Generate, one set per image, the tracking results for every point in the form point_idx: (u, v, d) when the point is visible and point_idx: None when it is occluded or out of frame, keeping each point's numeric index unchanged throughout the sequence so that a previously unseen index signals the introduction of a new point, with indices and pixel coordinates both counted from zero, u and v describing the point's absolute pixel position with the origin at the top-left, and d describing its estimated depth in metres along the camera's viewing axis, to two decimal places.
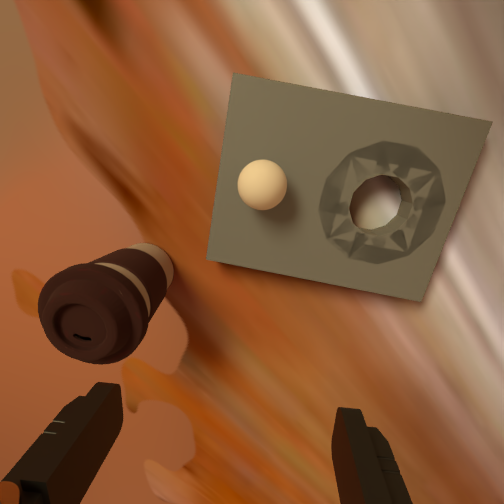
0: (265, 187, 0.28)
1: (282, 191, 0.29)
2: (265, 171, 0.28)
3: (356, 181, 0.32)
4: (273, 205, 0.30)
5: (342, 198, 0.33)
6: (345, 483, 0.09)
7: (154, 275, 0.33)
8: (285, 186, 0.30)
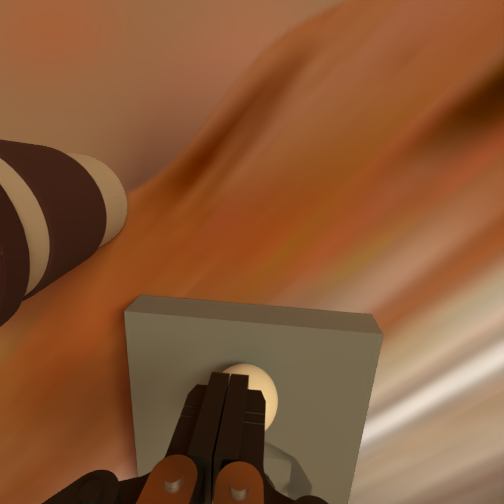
0: None
1: None
2: None
3: (264, 467, 0.28)
4: None
5: None
6: None
7: (63, 274, 0.19)
8: None
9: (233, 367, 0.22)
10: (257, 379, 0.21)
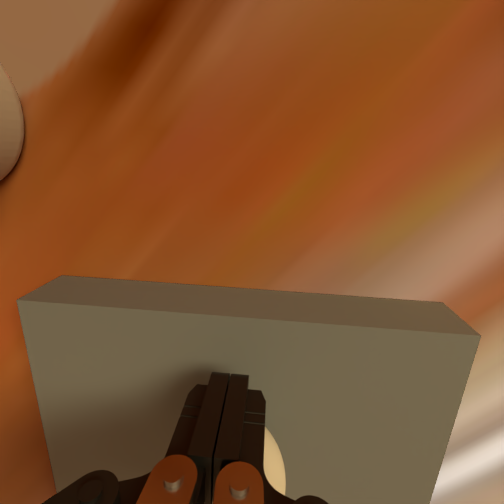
0: None
1: None
2: None
3: None
4: None
5: None
6: None
7: None
8: None
9: None
10: None
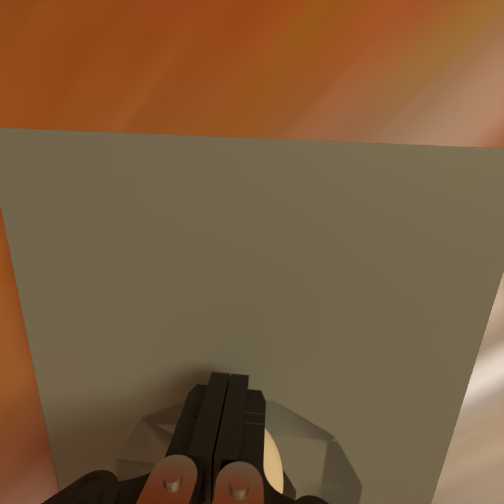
0: None
1: None
2: None
3: None
4: None
5: None
6: None
7: None
8: None
9: None
10: None
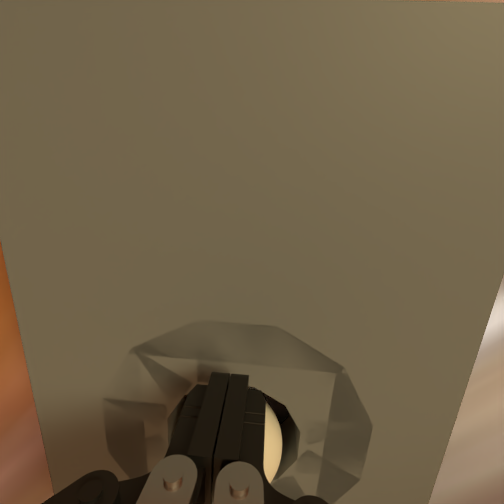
0: None
1: None
2: None
3: (279, 389, 0.14)
4: None
5: (236, 367, 0.14)
6: None
7: None
8: None
9: None
10: None
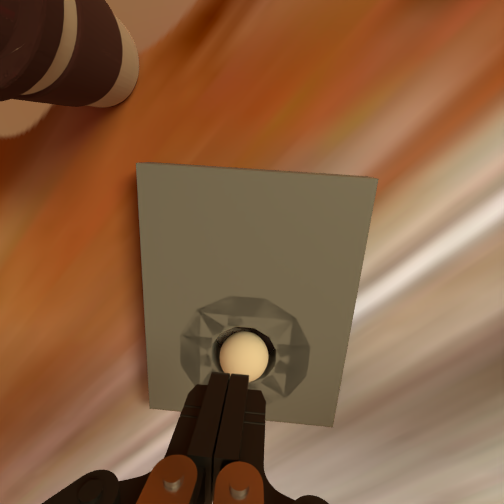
0: (245, 353, 0.29)
1: (247, 374, 0.29)
2: (258, 348, 0.29)
3: (266, 329, 0.29)
4: (230, 372, 0.29)
5: (246, 318, 0.29)
6: None
7: (84, 91, 0.20)
8: (252, 375, 0.29)
9: None
10: None
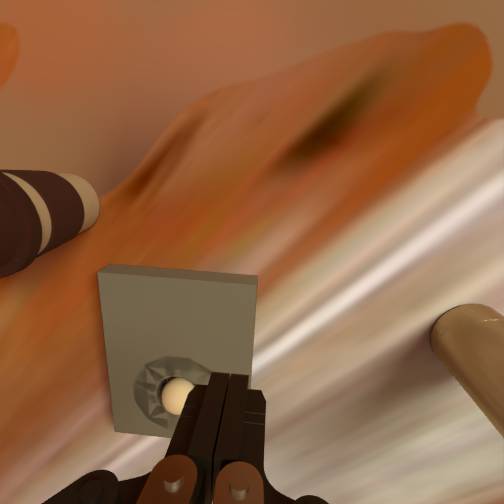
0: (177, 393, 0.41)
1: (178, 409, 0.41)
2: (187, 389, 0.42)
3: (192, 378, 0.42)
4: (167, 407, 0.41)
5: (178, 371, 0.41)
6: None
7: (58, 245, 0.33)
8: None
9: None
10: None
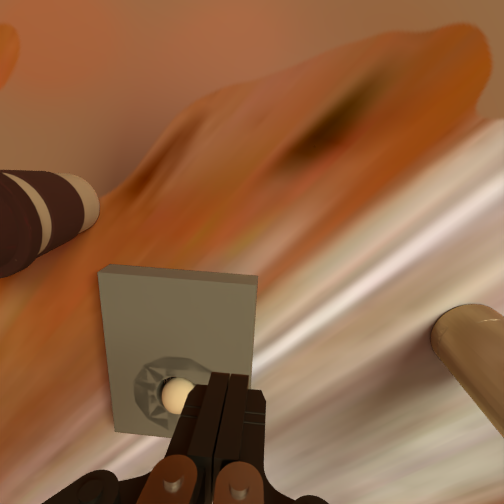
0: (177, 392, 0.41)
1: (178, 407, 0.41)
2: (187, 388, 0.42)
3: (192, 378, 0.42)
4: (167, 406, 0.41)
5: (178, 371, 0.42)
6: None
7: (58, 245, 0.33)
8: (182, 408, 0.41)
9: None
10: None
